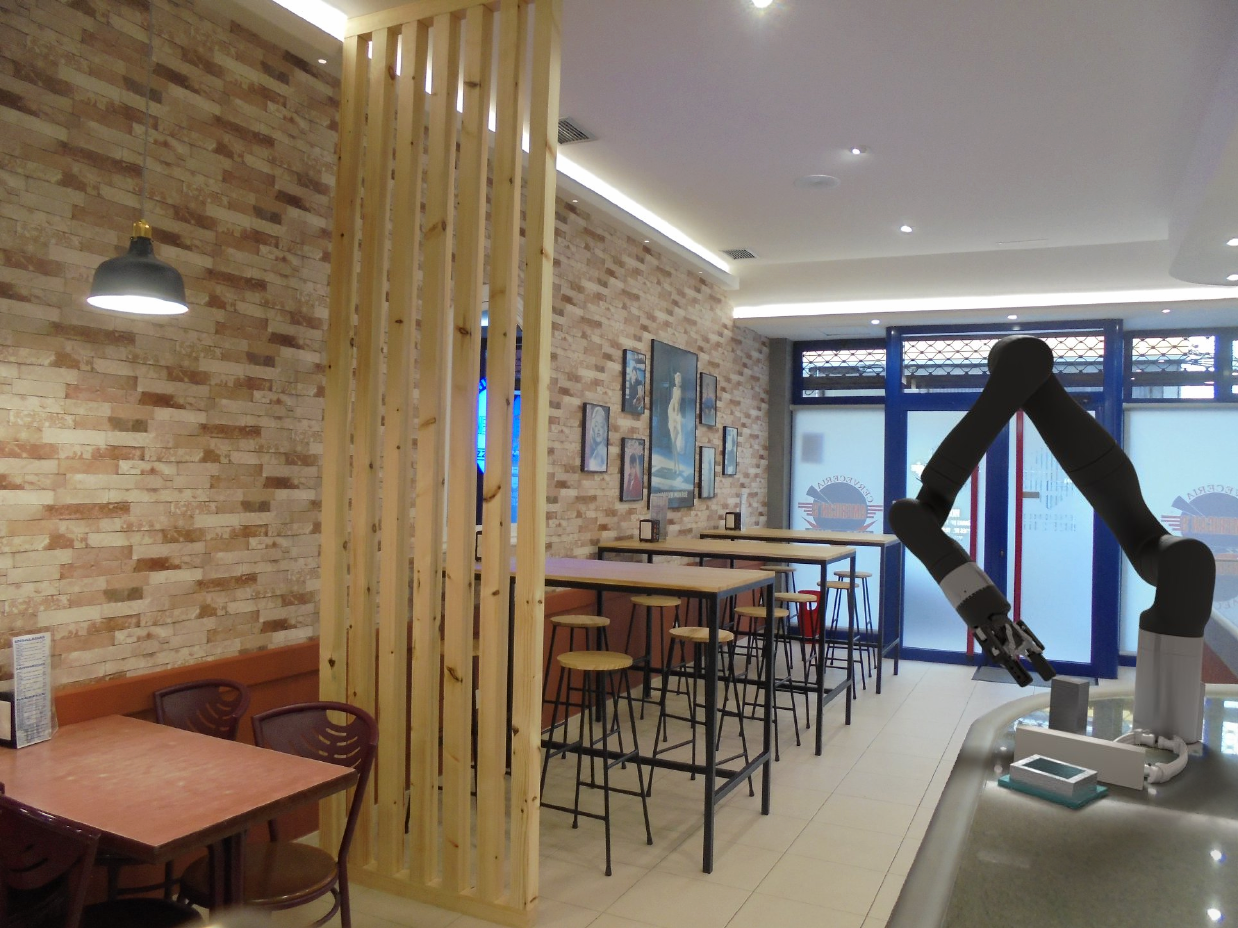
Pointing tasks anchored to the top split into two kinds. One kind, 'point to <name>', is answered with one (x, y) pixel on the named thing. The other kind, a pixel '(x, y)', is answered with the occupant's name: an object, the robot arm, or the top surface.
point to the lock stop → (1069, 705)
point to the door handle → (1177, 745)
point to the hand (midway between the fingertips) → (1040, 681)
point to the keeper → (1054, 781)
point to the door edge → (1084, 754)
